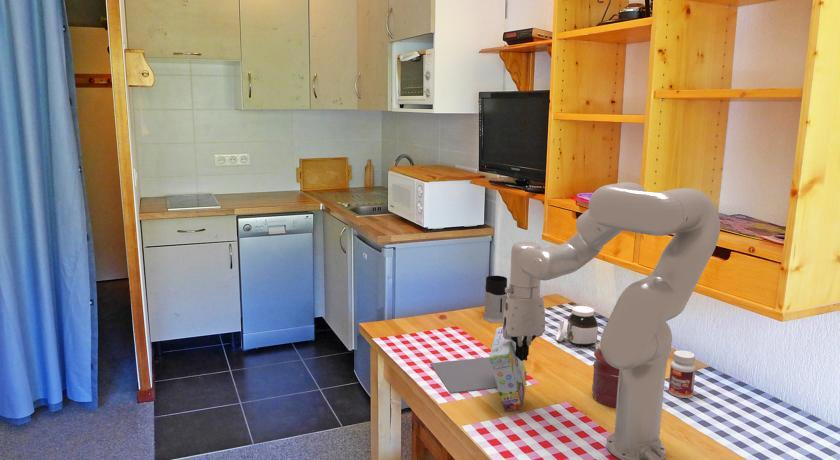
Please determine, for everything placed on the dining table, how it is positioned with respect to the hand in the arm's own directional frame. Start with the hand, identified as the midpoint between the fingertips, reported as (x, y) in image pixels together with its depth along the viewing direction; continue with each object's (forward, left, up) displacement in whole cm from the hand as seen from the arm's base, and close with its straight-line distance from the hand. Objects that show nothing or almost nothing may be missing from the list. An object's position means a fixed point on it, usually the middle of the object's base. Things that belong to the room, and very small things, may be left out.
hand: (521, 358), depth 164 cm
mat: (+17, +6, -11) cm, 22 cm away
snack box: (+2, 0, -11) cm, 11 cm away
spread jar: (+32, -33, -12) cm, 48 cm away
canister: (-6, -25, -12) cm, 28 cm away
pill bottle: (-8, -43, -12) cm, 45 cm away
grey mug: (+58, -18, -12) cm, 62 cm away
